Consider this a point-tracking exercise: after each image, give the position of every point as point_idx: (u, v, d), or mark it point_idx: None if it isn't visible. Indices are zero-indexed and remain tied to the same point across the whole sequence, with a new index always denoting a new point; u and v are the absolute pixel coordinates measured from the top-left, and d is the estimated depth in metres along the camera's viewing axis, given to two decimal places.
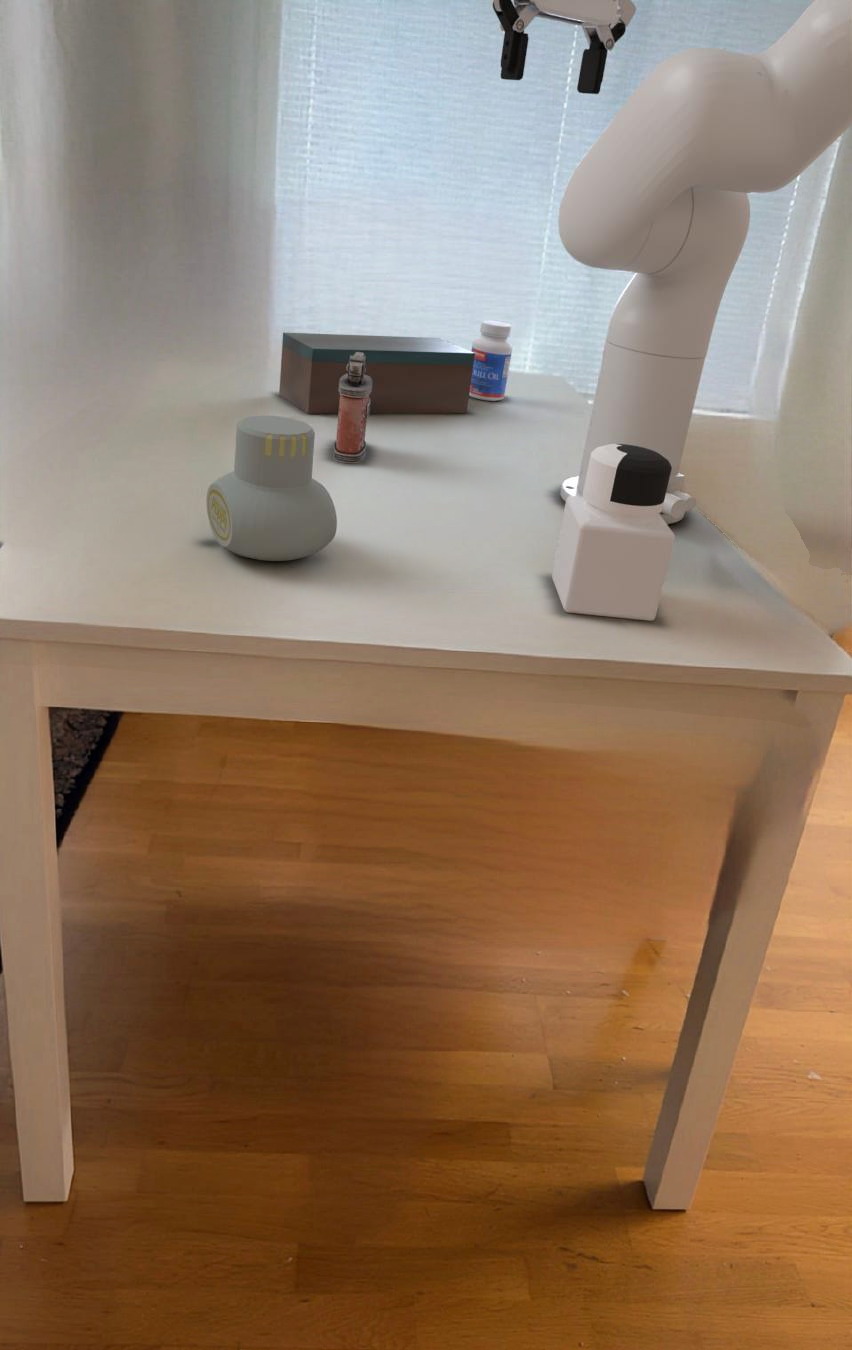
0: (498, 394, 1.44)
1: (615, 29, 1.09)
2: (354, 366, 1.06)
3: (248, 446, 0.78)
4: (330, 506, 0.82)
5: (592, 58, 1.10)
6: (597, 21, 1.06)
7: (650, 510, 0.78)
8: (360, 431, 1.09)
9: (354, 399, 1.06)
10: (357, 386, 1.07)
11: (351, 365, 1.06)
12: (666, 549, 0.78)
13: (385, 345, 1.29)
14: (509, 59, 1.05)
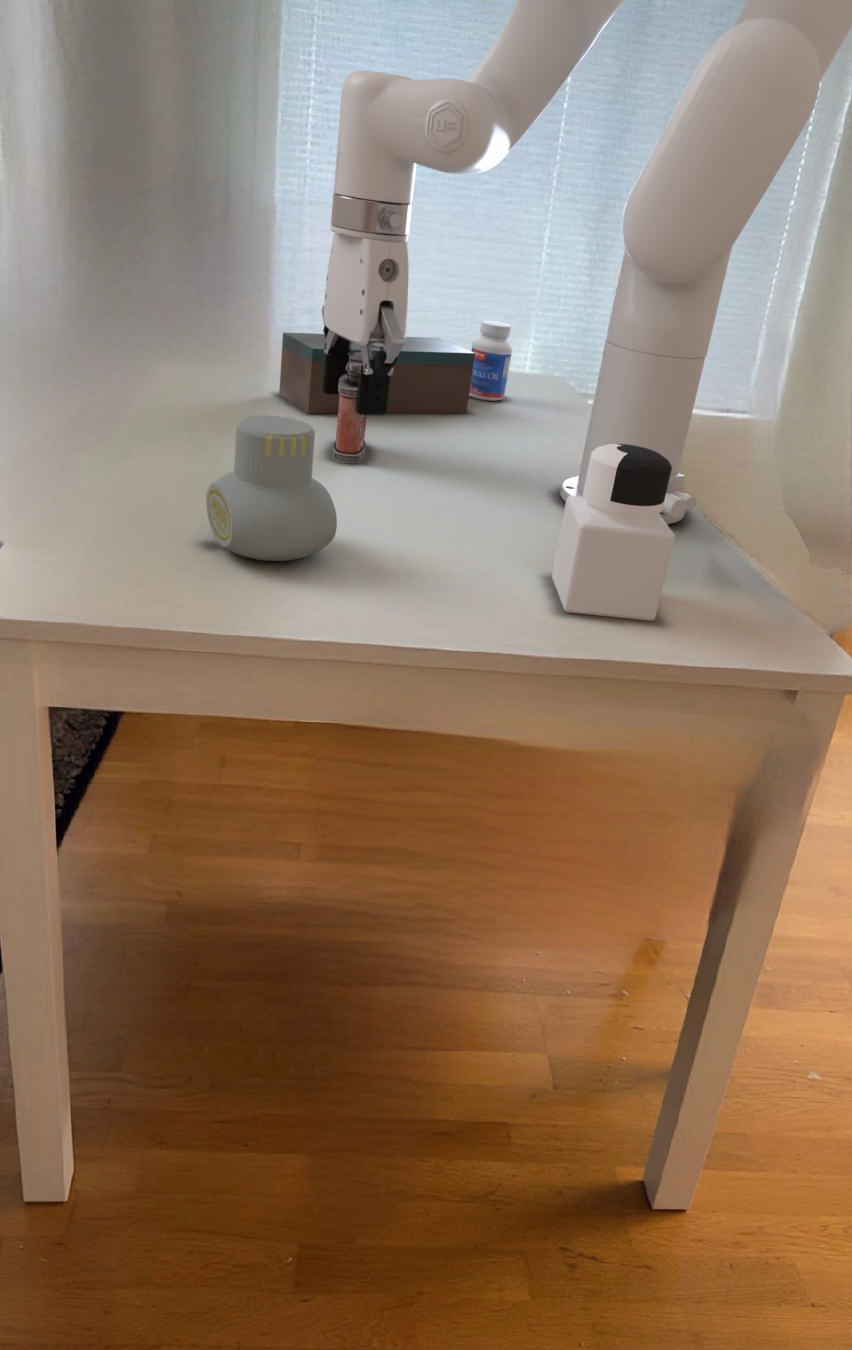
0: (498, 394, 1.44)
1: None
2: (354, 366, 1.06)
3: (248, 446, 0.78)
4: (330, 506, 0.82)
5: (343, 364, 1.12)
6: None
7: (650, 509, 0.78)
8: (360, 431, 1.09)
9: (354, 399, 1.06)
10: (357, 386, 1.07)
11: (351, 365, 1.06)
12: (666, 549, 0.78)
13: None
14: (383, 399, 1.06)
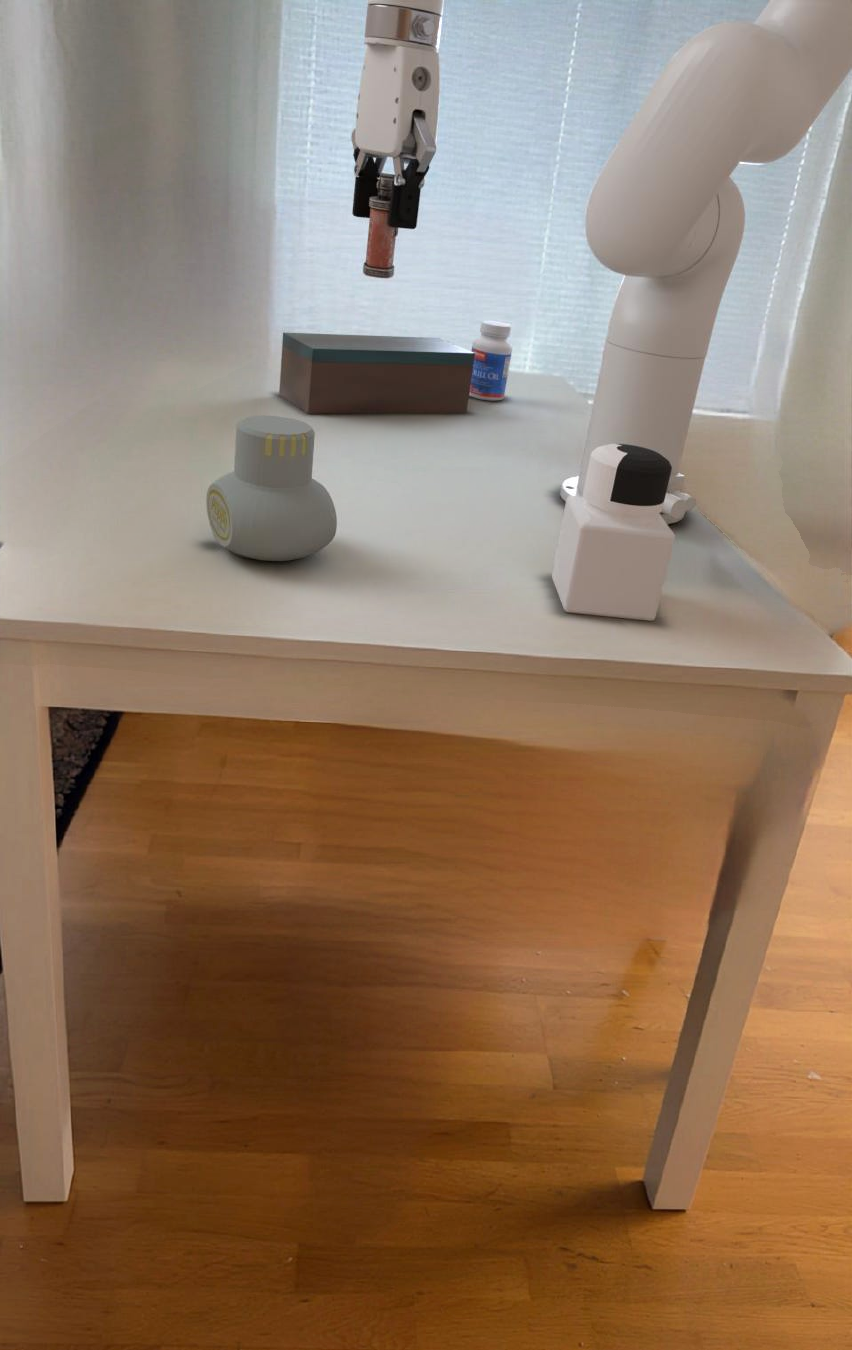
0: (498, 394, 1.44)
1: None
2: (385, 179, 1.10)
3: (248, 446, 0.78)
4: (330, 506, 0.82)
5: (373, 187, 1.16)
6: None
7: (650, 509, 0.78)
8: (390, 246, 1.13)
9: (386, 212, 1.11)
10: (388, 200, 1.11)
11: (382, 179, 1.10)
12: (666, 549, 0.78)
13: (385, 345, 1.29)
14: (414, 212, 1.11)
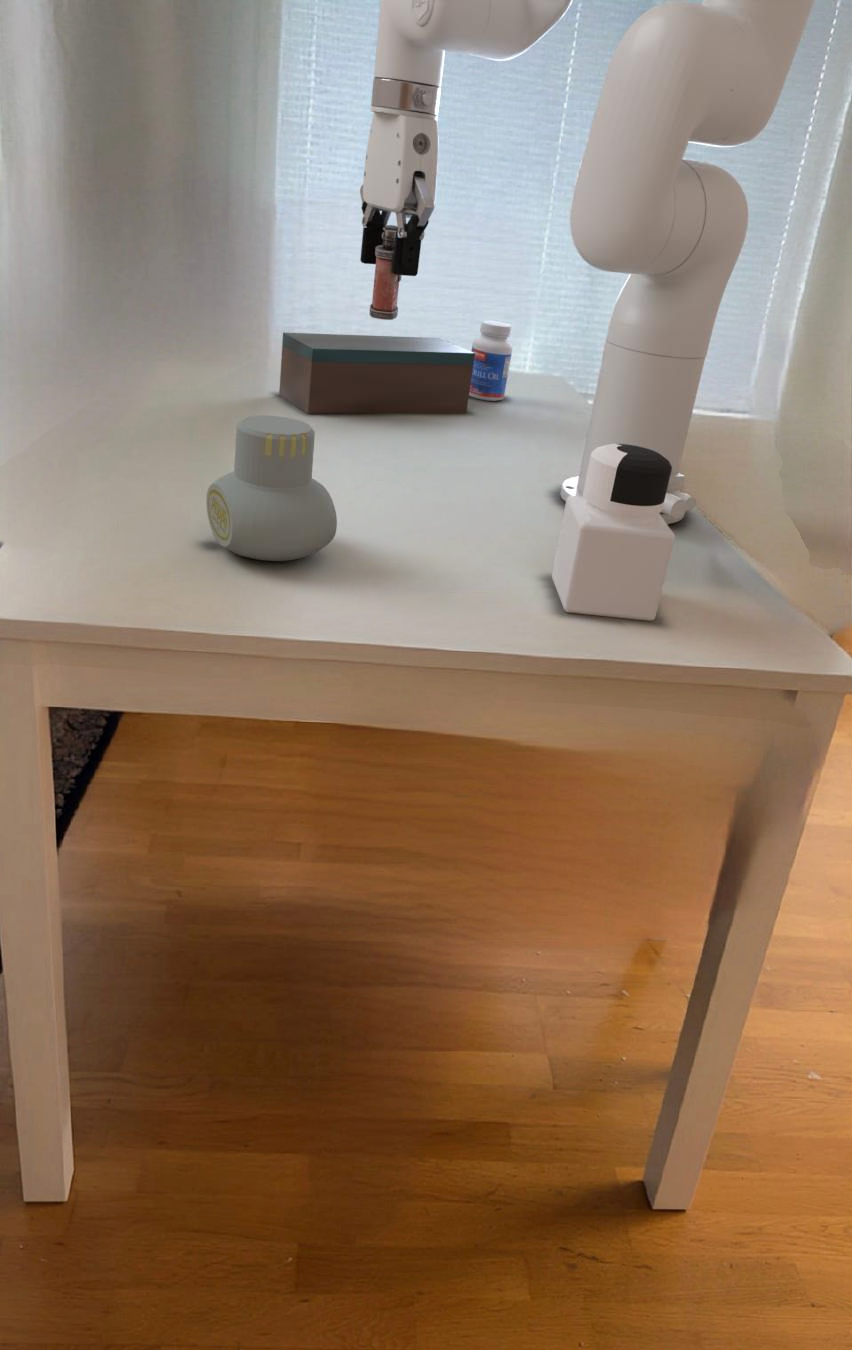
0: (498, 394, 1.44)
1: None
2: (389, 232, 1.22)
3: (248, 446, 0.78)
4: (330, 506, 0.82)
5: (379, 237, 1.28)
6: None
7: (650, 509, 0.78)
8: (394, 291, 1.25)
9: (389, 260, 1.23)
10: (391, 250, 1.23)
11: (386, 231, 1.22)
12: (666, 549, 0.78)
13: (385, 345, 1.29)
14: (415, 261, 1.23)
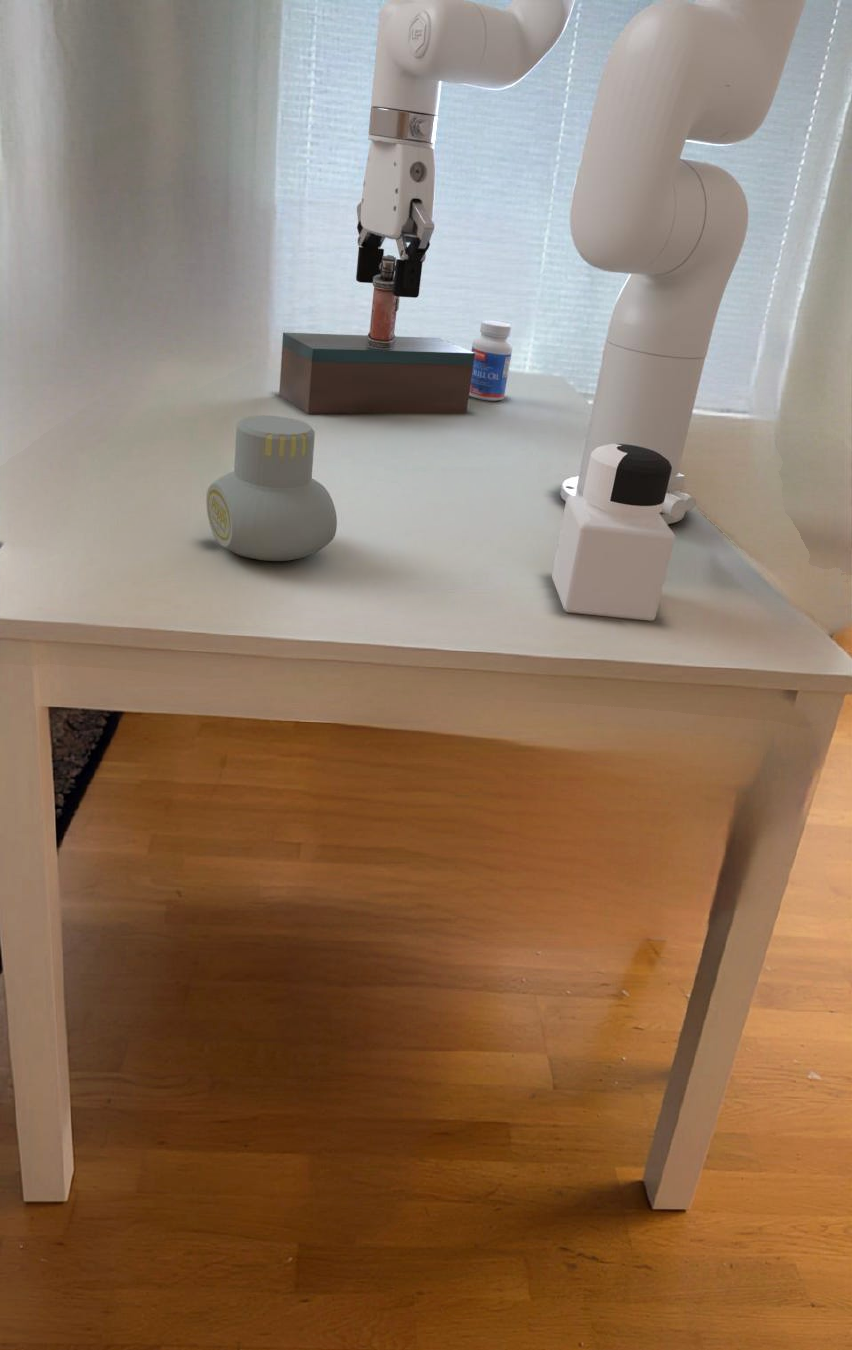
0: (498, 394, 1.44)
1: None
2: (387, 263, 1.24)
3: (248, 446, 0.78)
4: (330, 506, 0.82)
5: (374, 256, 1.30)
6: None
7: (650, 509, 0.78)
8: (391, 321, 1.27)
9: (387, 291, 1.24)
10: (389, 281, 1.25)
11: (384, 262, 1.24)
12: (666, 549, 0.78)
13: None
14: (416, 283, 1.23)
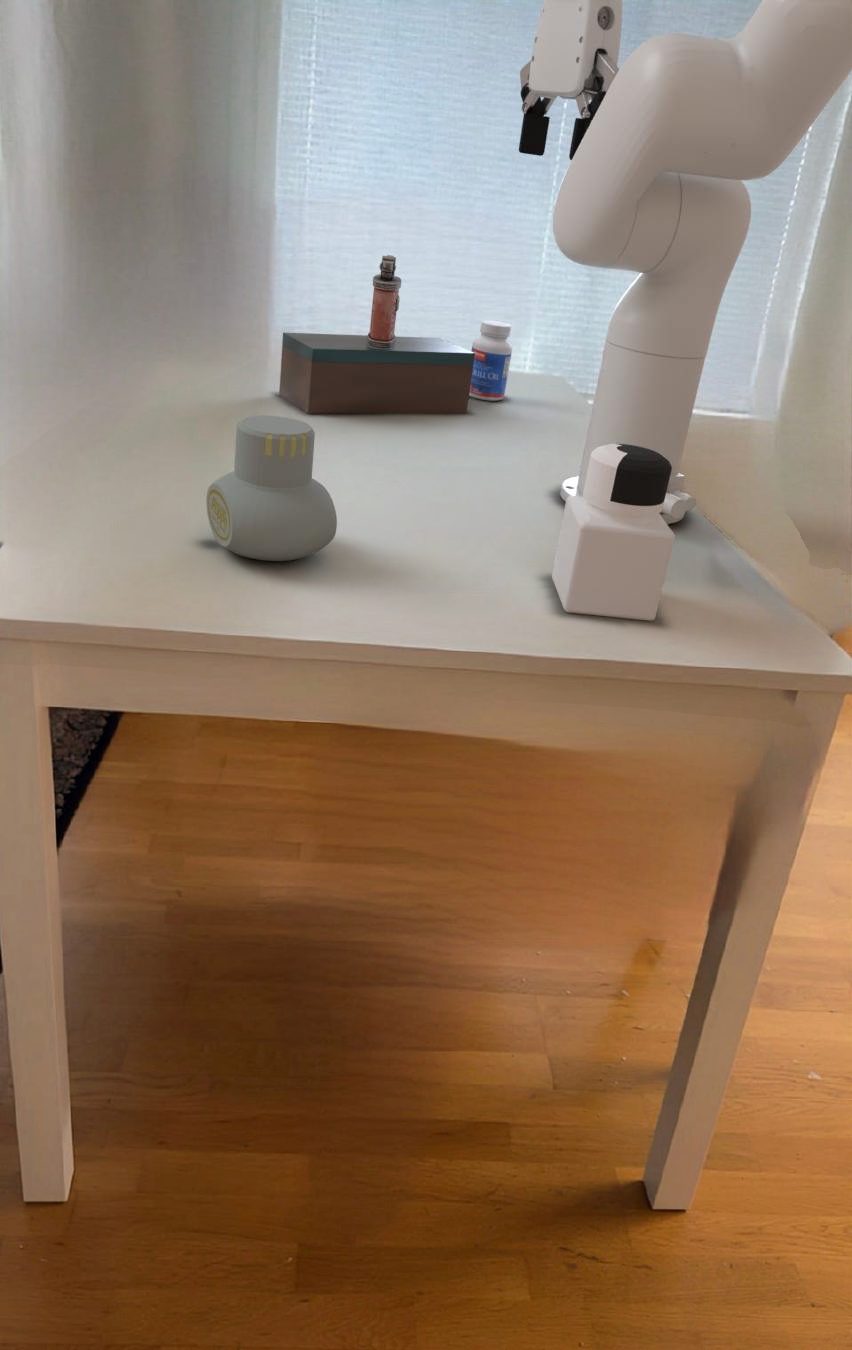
0: (498, 394, 1.44)
1: None
2: (387, 263, 1.24)
3: (248, 446, 0.78)
4: (330, 506, 0.82)
5: (540, 124, 1.20)
6: None
7: (650, 509, 0.78)
8: (391, 321, 1.27)
9: (387, 291, 1.24)
10: (389, 281, 1.25)
11: (384, 262, 1.24)
12: (666, 549, 0.78)
13: None
14: None
